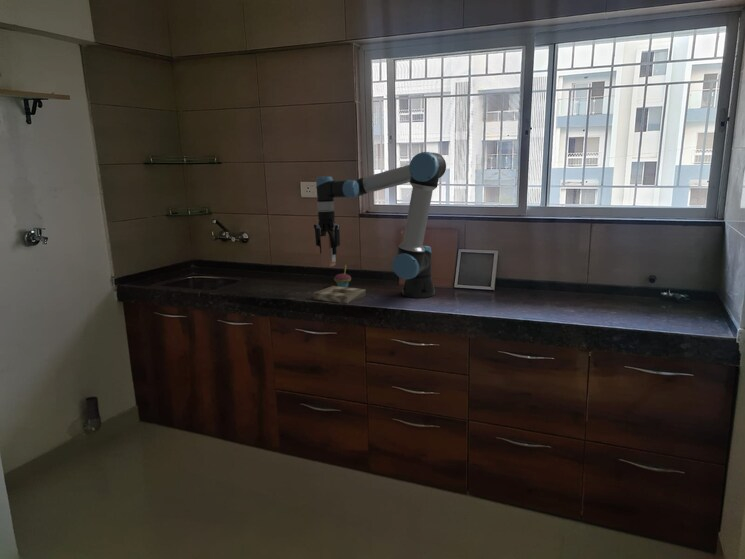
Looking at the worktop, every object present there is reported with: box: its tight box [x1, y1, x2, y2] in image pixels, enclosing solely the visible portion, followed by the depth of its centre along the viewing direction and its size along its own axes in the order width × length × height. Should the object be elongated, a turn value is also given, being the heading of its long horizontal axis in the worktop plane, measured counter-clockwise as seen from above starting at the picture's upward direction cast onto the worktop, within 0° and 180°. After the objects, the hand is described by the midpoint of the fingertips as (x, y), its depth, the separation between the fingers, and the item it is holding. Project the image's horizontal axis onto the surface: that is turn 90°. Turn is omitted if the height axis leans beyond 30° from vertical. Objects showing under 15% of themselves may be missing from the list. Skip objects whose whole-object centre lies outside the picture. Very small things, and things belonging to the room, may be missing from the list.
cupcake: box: [333, 264, 352, 288], centre depth 259 cm, size 9×8×12 cm
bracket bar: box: [320, 234, 336, 268], centre depth 243 cm, size 4×4×14 cm
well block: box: [313, 285, 367, 304], centre depth 240 cm, size 18×16×3 cm
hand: (328, 261), depth 244 cm, fingers closed on bracket bar, 4 cm apart
